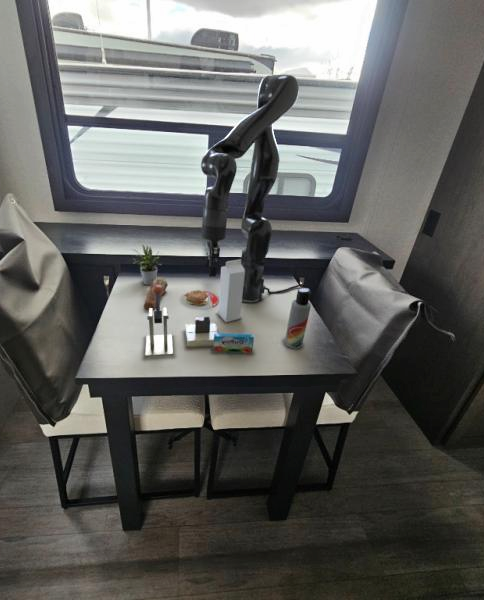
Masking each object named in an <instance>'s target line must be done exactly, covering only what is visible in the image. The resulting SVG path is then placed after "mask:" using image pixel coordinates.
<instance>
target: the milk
mask: <svg viewBox="0 0 484 600" xmlns="http://www.w3.org/2000/svg"><path fill="white" fill-rule="evenodd" d="M244 276H245V270H244V268H243V267H242V265H241V258H239V259H234V260H227V261H225V265H223V266H221V267H220V276H219V277H220V279H219V293H218V308H217V315H218V316H219V317H220V318H221V319H222V320H223V321H224V322H225V323H229V322H232V321H237V320H240V319H241V314H242V313H241V312H242V302H243V301H242V294H243V285H244Z"/></svg>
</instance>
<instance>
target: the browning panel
mask: <svg viewBox="0 0 484 600" xmlns="http://www.w3.org/2000/svg"><path fill="white" fill-rule="evenodd" d="M184 331H185V338H186V346H187V347H201V346H202V347H204V346H213V343H214V334H215V333H218V332H219V331H218V327H217V324H216V323H215V322H213V323H212V322H211V323H210V333H198V334H195V323H193V324H191V323H190V324H185V326H184Z"/></svg>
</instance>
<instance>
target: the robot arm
mask: <svg viewBox="0 0 484 600" xmlns="http://www.w3.org/2000/svg"><path fill="white" fill-rule="evenodd" d="M299 91H300V87H299V81H298V79H297V78H296V77H295V76H294V75H291V74H269V75H266V76H264V77H263V78H262V79H261V82H260V84H259V88H258V93H257V94H258V95H257V104H256V111H254V112H252V113H250V114H249V115H247V116H246V117H244V118H242V119H241V120H240V121H239V122H237V124H235V126H234V127H233V128H232V129H231V131H230V132H229V133H228V134H227V135H226V136H225V137H224V138H223V139H221V140H220V141H218V142H217V143H216V144H214V145H212V147H210V148H209V149H208V150H207V151H206V152H205V153H204V154H203V156H202V159H201V162H200V168H201V171H202V173H203V174H204V176H206V177H208V178H213V179H215V183H214V186H213V185H212V186H208V187H207V188H206V189H205V191H204V200H203V210H202V211H203V212H202V219H201V221H202V222H201V238H203V239H205V240H206V241H205V255H206V257H205V259H206V260H205V266H206V267H209V269H208V276H209V277H211V278H212V277H213V278H214V277H216V276H217V270H218V267H219V266H220V254H221V253H220V252H221V247H220V244H219V242H220V241H223V240H225V238H226V232H227V223H228V201H229V194H230V192H231V189H232V186H233V183H234V180H235V177H236V174H237V168H238V167H237V161H236V160H237V159H240V158H242V157H243V156H245V155H246V153H247V151H249V150H250V149H251V147H252V146H253V151H252V157H251V164H250V170H249V171H250V172H249V180H248V187H247V195H246V202H245V207H244V210H243V215H242V219H241V225H240V230H241V233H242V234H243V236H244V237H245V238H247V242H246V247H245V248H243V249H242V250H241V253H240V254H241V255H240V259H241V265H242V267H243V268H244V270H245V276H244V285H243V294H242V302H244V303H249V304H251V303H252V304H253V303H257V302H259V301H262V298H263V294H265V291H267V293H268V294H270V295H271V294H280V293H284V292H287V291H290V290H293V289H296V288H299V287H302V288H307V285H305V284H304V283H299V284H297V285H293V286H290V287H288V288H284V289H281V290H276V291H270V288H268V287H266V286H265V284H264V283H265V279H264V271H265V270H264V269H265V263H266V257H267V256H268V253H269V250H270V245H271V239H272V234H273V228H272V227H273V226H272V223H271V222H270V221H269V220H268V219H267V218H265V217H264V210H265V204H266V200H267V198H268V196H269V194H270V192H271V190H272V189H273V187H274V185H275V182H276V180H277V177H278V172H279V166H280V160H281V159H280V151H279V147H278V144H277V141H276V138H275V134H274V124H275V123H276V122H277V121H278V120H279V119H280V118H282V117H283V116H284V115H285V114H287V113H288V112H290V110H291V109H292V108H293V107H294V106H295V104H296V103H297V101H298V97H299ZM214 260H215V261H214Z"/></svg>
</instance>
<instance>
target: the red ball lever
mask: <svg viewBox="0 0 484 600" xmlns="http://www.w3.org/2000/svg"><path fill="white" fill-rule="evenodd" d="M152 292H153V294H155V295H156V306H155V310H153V324H163V310H161V303H160V302H161V298H160V295H161V294H162V292H163V288H162V287H161V286H160V285H156V286H154V287H153V289H152ZM162 295H163V294H162Z"/></svg>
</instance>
